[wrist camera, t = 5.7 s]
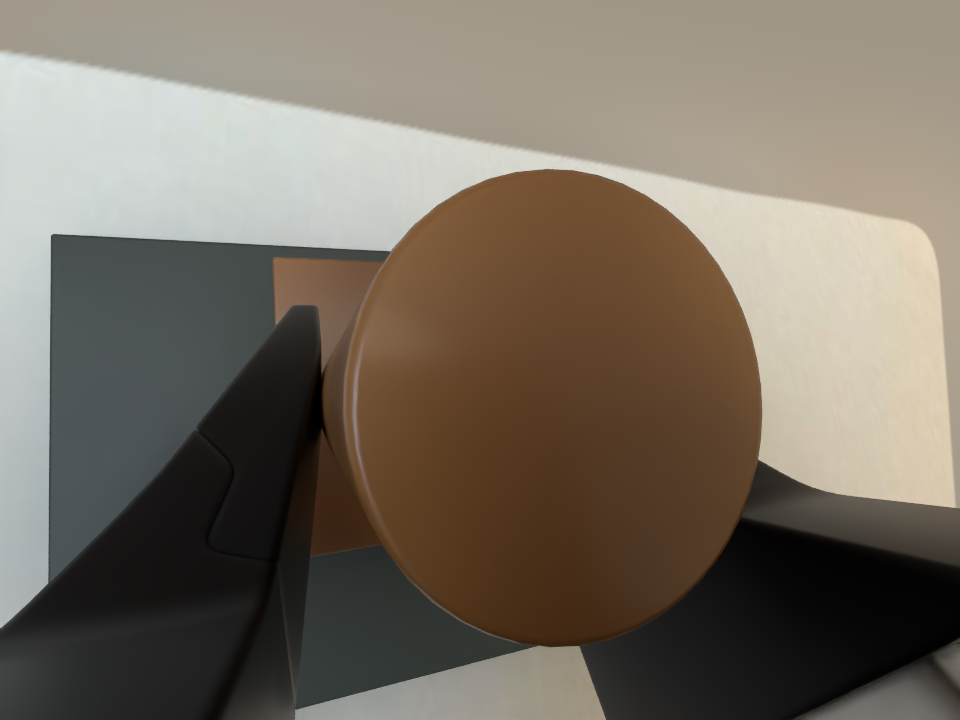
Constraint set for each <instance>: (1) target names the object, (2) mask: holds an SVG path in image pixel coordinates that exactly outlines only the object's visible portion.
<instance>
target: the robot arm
mask: <svg viewBox="0 0 960 720" xmlns="http://www.w3.org/2000/svg"><path fill="white" fill-rule="evenodd" d="M321 382H322V364H321V332H320V322H319V312H318V307H317V306H315V305H293V306H291V307H290V309H289V310H288V311H287V312H286V314H285V315H284V316H283V317H282V319H281V320H280V321H279V322H278V324H277V325H276V326H275V327H274V329H273V330H272V331H271V332H270V334H269V335H268V336H267V337H266V339H265V340H264V341H263V343H262V344H261V345H260V346H259V348H258V349H257V350H256V351H255V353H254V354H253V355H252V356H251V358H250V359H249V360H248V361H247V363H246V364H245V365H244V366H243V368H242V369H241V370H240V371H239V373H238V374H237V375H236V376H235V378H234V379H233V380H232V382H231V383H230V384H229V385H228V387H227V388H226V389H225V390H224V392H223V393H222V394H221V395H220V397H219V398H218V399H217V400H216V402H215V403H214V404H213V405H212V407H211V408H210V409H209V410H208V412H207V413H206V414H205V415H204V417H203V418H202V419H201V421H200V422H199V423H198V424H197V426H196V427H195V430H193V431H191V433H190V434H189V435H188V436H187V438H186V439H185V440H184V442H183V443H182V444H181V445H180V447H179V448H178V449H177V450H176V452H175V453H174V454H173V455H172V456H171V457H170V459H169V460H168V461H167V462H166V463H165V464H164V466H163V467H162V468H161V469H160V470H159V471H158V473H157V474H156V475H155V476H154V477H153V478H152V479H151V481H150V482H149V483H148V484H147V485H146V486H145V487H144V488H143V489H142V490H141V491H140V492H139V493H138V494H137V495H136V496H135V497H134V498H133V499H132V500H131V501H130V502H129V503H128V504H127V506H126V507H125V508H124V509H123V510H122V511H121V512H120V513H119V514H118V515H117V516H116V517H115V518H114V519H113V520H112V521H111V522H110V523H109V524H108V525H107V526H106V527H105V528H104V529H103V530H102V531H101V532H100V533H99V534H98V535H97V536H96V537H95V538H94V539H93V540H92V541H91V542H90V543H89V544H88V545H87V546H86V547H85V548H84V549H83V550H82V551H81V552H80V553H79V554H77V555H76V556H75V557H74V558H73V559H72V560H71V561H70V562H69V563H68V564H67V565H66V566H65V567H64V568H63V569H62V570H61V571H60V572H59V573H58V574H57V575H56V576H55V577H54V578H53V579H52V580H51V581H50V582H49V583H48V584H47V585H46V586H45V587H44V588H43V589H42V590H41V591H40V592H39V593H38V594H37V595H36V596H35V597H34V598H33V599H32V600H31V601H30V602H29V603H28V604H27V605H26V606H25V607H24V608H23V609H22V610H21V611H20V612H19V613H17V614H16V615H15V616H14V617H13V618H12V619H11V620H10V621H9V622H8V623H6V624H5V625H4V626H3V627H2V628H0V720H295V707H296V699H297V689H298V678H299V668H300V657H301V647H302V636H303V626H304V615H305V604H306V594H307V583H308V573H309V562H310V552H311V541H312V531H313V520H314V509H315V499H316V488H317V478H318V467H319V457H320V446H321V433H322V426H321V420H320V390H321ZM580 649H581V652H582V654H583V657H584V660H585V663H586V665H587V668H588V671H589V674H590V676H591V679H592V682H593V685H594V687H595V690H596V693H597V696H598V698H599V701H600V704H601V706H602V709H603V712H604V715H605V717H606V720H960V509H958V508H950V507H941V506H932V505H924V504H915V503H906V502H897V501H889V500H880V499H871V498H862V497H854V496H846V495H839V494H834V493H830V492H825V491H822V490H819V489H816V488H813V487H810V486H808V485H805V484H803V483H800V482H798V481H796V480H794V479H792V478H790V477H788V476H786V475H785V474H783V473H781V472H779V471H777V470H776V469H774V468H772V467H770V466H768V465H767V464H765V463H763V462H761V461H760V460H758V462H757V467H756V471H755V475H754V479H753V483H752V487H751V491H750V494H749V497H748V499H747V502H746V505H745V508H744V510H743V513H742V516H741V518H740V520H739V522H738V524H737V526H736V528H735V530H734V532H733V534H732V536H731V539H730V540H729V542H728V544H727V545H726V547H725V548H724V550H723V551H722V553H721V555H720V556H719V558H718V559H717V561H716V562H715V564H714V565H713V566H712V567H711V569H710V570H709V571H708V572H707V574H706V575H705V576H704V577H703V578H702V580H701V581H700V582H699V583H698V584H697V585H696V586H695V587H694V588H693V589H692V590H691V591H690V592H689V593H688V594H687V595H686V596H685V597H684V598H683V599H682V600H681V601H680V602H678V603H677V604H676V605H674V606H673V607H672V608H670V609H669V610H667V611H666V612H665V613H663V614H662V615H661V616H659V617H658V618H656V619H654V620H653V621H651V622H649V623H647V624H645V625H643V626H642V627H640V628H638V629H636V630H634V631H632V632H629V633H626V634H623V635H621V636H618V637H615V638H613V639H610V640H606V641H602V642H597V643H592V644H587V645H582V646H580Z"/></svg>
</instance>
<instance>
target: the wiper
mask: <svg viewBox="0 0 960 720" xmlns="http://www.w3.org/2000/svg"><path fill="white" fill-rule="evenodd" d="M273 292H274V325H275V326H276V325H277V324H278V322H279V321H280V320H281V319H282V317H283V316H284V315H285V314H286V312H287V311H288V310H289V309H290V307H291V306H293V305H315V306H317V307H318V312H319V322H320V332H321V364H322V382H321V390H320V420H321V426H322V433H321V446H320V457H319V467H318V478H317V488H316V499H315V509H314V520H313V531H312V541H311V552H310V557H313V556H319V555H325V554H331V553H337V552H343V551H349V550H355V549H361V548H367V547H373V546H378V545H383V547H384V549H385V550H386V552H387V554H388V555H389V556H390V557H391V559H392V560H393V561H394V562H395V564H396V565H397V566H398V567H399V569H400V570H401V571H402V573H403V574H404V575H405V576H406V578H407V579H408V580H409V581H410V582H411V583H412V584H413V585H414V586H415V587H416V588H417V589H419V590H420V591H421V592H422V593H423V594H424V595H425V596H426V597H427V598H428V599H429V600H430V601H431V602H432V603H434V604H435V605H437V606H438V607H440V608H441V609H443V610H444V611H445V612H447V613H448V614H450V615H451V616H453V617H454V618H456V619H457V620H459V621H460V622H462V623H464V624H467V625H469V626H471V627H473V628H475V629H477V630H479V631H481V632H484V633H486V634H488V635H491V636H494V637H498V638H501V639H505V640H508V641H512V642H515V643H521V644H529V645H538V646H546V647H563V646H582V645H587V644H592V643H597V642H602V641H606V640H610V639H613V638H615V637H618V636H621V635H623V634H626V633H629V632H632V631H634V630H636V629H638V628H640V627H642V626H643V625H645V624H647V623H649V622H651V621H653V620H654V619H656V618H658V617H659V616H661V615H662V614H663V613H665V612H666V611H667V610H669V609H670V608H672V607H673V606H674V605H676V604H677V603H678V602H680V601H681V600H682V599H683V598H684V597H685V596H686V595H687V594H688V593H689V592H690V591H691V590H692V589H693V588H694V587H695V586H696V585H697V584H698V583H699V582H700V581H701V580H702V578H703V577H704V576H705V575H706V574H707V572H708V571H709V570H710V569H711V567H712V566H713V565H714V564H715V562H716V561H717V559H718V558H719V556H720V555H721V553H722V551H723V550H724V548H725V547H726V545H727V544H728V542H729V540H730V539H731V536H732V534H733V532H734V530H735V528H736V526H737V524H738V522H739V520H740V518H741V516H742V513H743V510H744V508H745V505H746V502H747V499H748V497H749V494H750V491H751V487H752V483H753V479H754V475H755V471H756V467H757V462H758V455H759V448H760V441H761V426H762V399H761V383H760V376H759V370H758V363H757V357H756V353H755V349H754V345H753V341H752V337H751V333H750V331H749V328H748V325H747V322H746V319H745V316H744V313H743V311H742V308H741V306H740V304H739V302H738V300H737V298H736V295H735V293H734V291H733V289H732V287H731V285H730V283H729V282H728V280H727V278H726V277H725V275H724V273H723V272H722V270H721V268H720V267H719V265H718V264H717V262H716V261H715V260H714V258H713V257H712V255H711V254H710V253H709V251H708V250H707V249H706V247H705V246H704V245H703V244H702V243H701V241H700V240H699V239H698V238H697V237H696V236H695V235H694V234H693V233H692V232H691V231H690V230H689V229H688V227H687V226H686V225H684V224H683V223H682V222H681V221H680V220H679V219H677V218H676V217H675V216H674V215H673V214H672V213H670V212H669V211H668V210H667V209H666V208H664V207H663V206H661V205H660V204H658V203H657V202H655V201H654V200H652V199H651V198H649V197H648V196H646V195H644V194H642V193H640V192H638V191H636V190H634V189H632V188H630V187H628V186H626V185H624V184H622V183H619V182H616V181H613V180H610V179H607V178H604V177H602V176H599V175H594V174H588V173H583V172H578V171H573V170H553V169H544V170H533V171H523V172H515V173H511V174H507V175H503V176H499V177H495V178H491V179H488V180H485V181H483V182H480V183H478V184H476V185H473V186H471V187H469V188H466V189H464V190H462V191H460V192H459V193H457V194H455V195H454V196H452V197H450V198H449V199H447V200H445V201H444V202H442V203H441V204H439V205H437V206H436V207H435V208H434V209H433V210H431V211H430V212H429V213H428V214H427V215H425V216H424V217H423V218H422V219H421V220H419V221H418V222H417V223H416V224H415V225H414V226H413V227H412V228H411V229H410V230H409V231H408V232H407V234H406V235H405V236H404V237H403V238H402V239H401V240H400V241H399V243H398V244H397V245H396V246H395V247H394V248H393V249H392V251H391V252H390V254H389V256H388V257H387V259H386V260H385V262H382V261H357V260H332V259H307V258H282V257H274V258H273Z"/></svg>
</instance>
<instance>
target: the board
mask: <svg viewBox="0 0 960 720" xmlns="http://www.w3.org/2000/svg"><path fill="white" fill-rule="evenodd" d="M389 254H390V252H389V251H370V250H350V249H331V248H312V247H292V246H273V245H254V244H235V243H215V242H196V241H177V240H157V239H138V238H119V237H99V236H80V235H61V234H53V235H51V314H50V447H49V579H48V583H49V582H50V581H51V580H52V579H53V578H54V577H55V576H56V575H57V574H58V573H59V572H60V571H61V570H62V569H63V568H64V567H65V566H66V565H67V564H68V563H69V562H70V561H71V560H72V559H73V558H74V557H75V556H76V555H77V554H79V553H80V552H81V551H82V550H83V549H84V548H85V547H86V546H87V545H88V544H89V543H90V542H91V541H92V540H93V539H94V538H95V537H96V536H97V535H98V534H99V533H100V532H101V531H102V530H103V529H104V528H105V527H106V526H107V525H108V524H109V523H110V522H111V521H112V520H113V519H114V518H115V517H116V516H117V515H118V514H119V513H120V512H121V511H122V510H123V509H124V508H125V507H126V506H127V504H128V503H129V502H130V501H131V500H132V499H133V498H134V497H135V496H136V495H137V494H138V493H139V492H140V491H141V490H142V489H143V488H144V487H145V486H146V485H147V484H148V483H149V482H150V481H151V479H152V478H153V477H154V476H155V475H156V474H157V473H158V471H159V470H160V469H161V468H162V467H163V466H164V464H165V463H166V462H167V461H168V460H169V459H170V457H171V456H172V455H173V454H174V453H175V452H176V450H177V449H178V448H179V447H180V445H181V444H182V443H183V442H184V440H185V439H186V438H187V436H188V435H189V434H190V433H191V431H193V430H195V427H196V426H197V424H198V423H199V422H200V421H201V419H202V418H203V417H204V415H205V414H206V413H207V412H208V410H209V409H210V408H211V407H212V405H213V404H214V403H215V402H216V400H217V399H218V398H219V397H220V395H221V394H222V393H223V392H224V390H225V389H226V388H227V387H228V385H229V384H230V383H231V382H232V380H233V379H234V378H235V376H236V375H237V374H238V373H239V371H240V370H241V369H242V368H243V366H244V365H245V364H246V363H247V361H248V360H249V359H250V358H251V356H252V355H253V354H254V353H255V351H256V350H257V349H258V348H259V346H260V345H261V344H262V343H263V341H264V340H265V339H266V337H267V336H268V335H269V334H270V332H271V331H272V330H273V329H274V327H275V325H274V292H273V258H274V257H282V258H307V259H332V260H357V261H382V262H385V260H386V259H387V257H388V256H389ZM535 646H538V645H529V644H521V643H515V642H512V641H508V640H505V639H501V638H498V637H494V636H491V635H488V634H486V633H484V632H481V631H479V630H477V629H475V628H473V627H471V626H469V625H467V624H464V623H462V622H460V621H459V620H457V619H456V618H454V617H453V616H451V615H450V614H448V613H447V612H445V611H444V610H443V609H441V608H440V607H438V606H437V605H435V604H434V603H432V602H431V601H430V600H429V599H428V598H427V597H426V596H425V595H424V594H423V593H422V592H421V591H420V590H419V589H417V588H416V587H415V586H414V585H413V584H412V583H411V582H410V581H409V580H408V579H407V578H406V576H405V575H404V574H403V573H402V571H401V570H400V569H399V567H398V566H397V565H396V564H395V562H394V561H393V560H392V559H391V557H390V556H389V555H388V554H387V552H386V550H385V549H384V547H383V545H378V546H373V547H367V548H361V549H355V550H349V551H343V552H337V553H331V554H325V555H319V556H313V557H310V562H309V573H308V583H307V594H306V604H305V615H304V626H303V636H302V647H301V657H300V668H299V678H298V689H297V699H296V707H295V710H296V709H300V708H303V707H307V706H311V705H315V704H319V703H322V702H326V701H330V700H334V699H338V698H341V697H345V696H349V695H353V694H357V693H360V692H364V691H368V690H372V689H376V688H379V687H383V686H387V685H391V684H395V683H398V682H402V681H406V680H410V679H414V678H417V677H421V676H425V675H429V674H433V673H436V672H440V671H444V670H448V669H452V668H456V667H459V666H463V665H467V664H471V663H475V662H478V661H482V660H486V659H490V658H494V657H497V656H501V655H505V654H509V653H513V652H516V651H520V650H524V649H528V648H532V647H535Z"/></svg>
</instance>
